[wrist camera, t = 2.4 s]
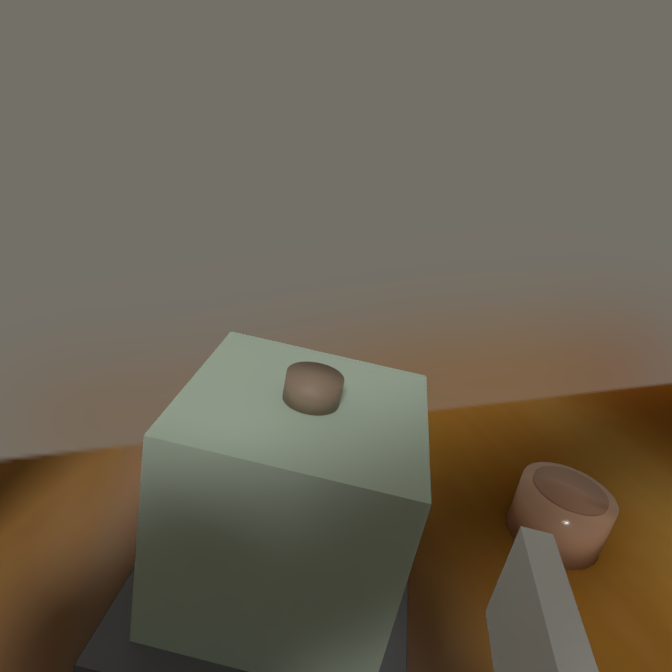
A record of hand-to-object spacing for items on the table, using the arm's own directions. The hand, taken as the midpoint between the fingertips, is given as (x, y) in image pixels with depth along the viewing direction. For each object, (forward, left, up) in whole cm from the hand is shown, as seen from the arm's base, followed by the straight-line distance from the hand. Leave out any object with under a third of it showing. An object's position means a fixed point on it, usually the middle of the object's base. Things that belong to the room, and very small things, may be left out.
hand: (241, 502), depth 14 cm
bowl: (-23, -8, -13) cm, 28 cm away
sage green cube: (-5, -8, -12) cm, 16 cm away
